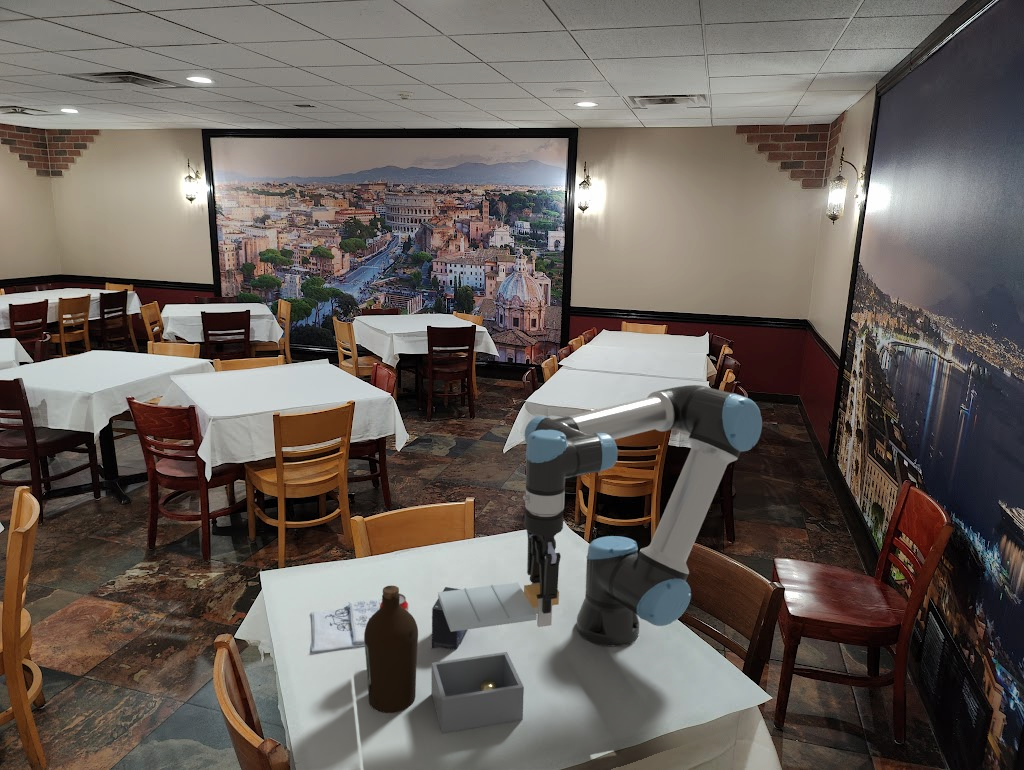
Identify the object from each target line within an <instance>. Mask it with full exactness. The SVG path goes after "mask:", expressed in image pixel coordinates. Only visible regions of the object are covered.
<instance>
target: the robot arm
mask: <svg viewBox="0 0 1024 770" xmlns="http://www.w3.org/2000/svg"><path fill="white" fill-rule="evenodd" d="M762 418H763V417H762V416H761V410H760V408H759V406H758V405H757V404H756V402H755V401H753V400H752V399H751V398H748V397H745V396H743V395H740V394H737V393H733V392H729V391H724V390H720V389H717V388H711V387H708V386H705V385H701V384H699V385H697V384H693V385H691V384H690V385H682V386H681V385H680V386H676V387H670V388H665V389H661V390H657V391H653V392H651V393H649V394H648V395H647V397H645V398H641V399H636V400H632V401H629V402H623V403H619V404H615V405H611V406H607V407H602V408H598V409H593V410H589V411H586V412H581V413H578V414H573V415H568V416H563V417H559V418H554V419H552V418H550V417H547V416H543V415H542V416H535V417H533V418H532V419H531V420H530V421H528V423H527V424H526V426H525V429H524V440H525V443H526V450H525V451H526V452H525V494H524V495H523V496H522V499H523V500H524V501H525V506H524V507H525V511H524V524H523V525H524V528H525V530H526V534H527V565H526V566H527V567H526V569H527V570H526V571H527V572H526V573H527V575H528V576H529V581H530V585H532V584H540V594H538V595H537V599H538V607H536V608H533V609H534V610H535V612H536V614H537V620H536V623H537V624H536V626H537V627H538V628H541V627H547V626H548V627H550V626H552V618H553V617H552V616H553V615H552V614H553V605H552V599H555V598H557V591H559V587H558V586H559V572H560V571H559V570H560V569H559V568H560V561H561V553H560V552H556V548H557V544H556V543H557V542H556V539H555V536H557V534H559V533H561V532H562V531H563V528H564V509H565V491H566V490H565V487H566V485H565V484H566V479H569V478H574V477H577V476H583V475H588V474H594V473H595V474H596V473H601V472H602V471H606V470H609V469H611V468H614V466H615V464H616V463H617V461H618V451H619V450H618V447H617V443H616V441H615V440H619V439H622V438H626V437H630V436H634V435H636V434H641V433H646V432H648V431H649V432H650V431H653V430H655V431H658V432H666V431H667V432H668V431H672V430H673V431H681V432H684V433H688V434H689V435H688V438H687V440H688V444H689V445H690V451H689V453H688V455H687V457H686V460H685V462H684V464H683V466H682V469H681V471H680V475H679V476H678V479H677V481H676V483H675V486H674V488H673V491H672V492H671V495H670V498H669V499H668V502H667V504H666V507H665V509H664V512H663V514H662V516H661V518H660V521H659V523H658V526H657V527H656V530H655V533H654V535H653V537H652V539H651V541H650V544H649V545H648V546H645V547H642V548H640V550H639V547H638V543H637V541H636V540H634V539H632V538H629V537H625V536H618V535H617V536H616V535H615V536H614V535H610V536H609V535H607V536H601V537H598V538H596V539H595V538H594V539H593V540H592V541H591V542H589V545H588V548H587V555H586V568H585V569H586V571H585V572H586V573H585V574H586V575H585V597H584V599H583V602H582V604H581V607H580V608H579V612H578V614H577V615H576V616H577V617H576V629H577V632H578V634H580V635H581V637H583V638H584V639H585V640H587V641H589V642H591V643H594V644H596V645H601V646H606V647H620V646H621V647H622V646H625V645H627V644H631V643H632V642H634V641H635V640H636V639H637V638H638V636H639V635H638V634H640V620H639V618H640V619H641V620H644V621H646V622H647V623H650V624H651V625H653V626H657V627H664V626H668V625H670V624H672V623H673V622H676V621H677V620H678V619H679V618H680V617H682V615H683V614H684V613H685V612H686V610H687V608H688V606H689V604H690V601H691V599H692V593H691V592H692V591H691V590H692V589H691V587H690V585H689V584H688V582H687V578H688V576H689V574H690V571H689V568H688V565H687V561H688V558H689V556H690V553H691V551H692V549H693V546H694V544H695V542H696V539H697V537H698V535H699V532H700V530H701V528H702V526H703V523H704V521H705V519H706V516H707V513H708V511H709V510H710V507H711V504H712V502H713V499H714V497H715V495H716V492H717V490H718V488H719V485H720V483H721V481H722V479H723V476H724V474H725V471H726V469H727V466H728V465H729V464H731V463H732V462H735V461H737V460H738V459H739V457H740V454H741V452H748V451H749V450H750V451H751V449H752V448H754V447H755V446H756V444H758V441H759V440H760V437H761V434H762V429H763V428H762V427H763V419H762ZM638 550H639V551H638Z"/></svg>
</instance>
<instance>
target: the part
mask: <svg viewBox="0 0 1024 770" xmlns="http://www.w3.org/2000/svg"><path fill="white" fill-rule="evenodd" d="M491 689H496V684H495V682H493V681H490V680H486V681H483V682H482V683H481V691H485V690H491Z"/></svg>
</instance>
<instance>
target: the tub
mask: <svg viewBox="0 0 1024 770" xmlns="http://www.w3.org/2000/svg"><path fill="white" fill-rule="evenodd" d="M486 680H490V681H493V682H495V684H496V689H491V690H485V691H481V683H482V682H483V681H486ZM524 691H525V689H524V684H523V683H522V680H521V678H520V676H519V674H518V672H517V670H516V668H515V666H514V663H513V661H512V659H511V657H510V654H509V653H508V651H504V652H496V653H491V654H483V655H477V656H476V655H475V656H471V657H469V656H468V657H464V658H463V657H462V658H454V659H449V660H441V661H436V662H431V698H432V701H433V704H434V705H433V706H434V709H435V712H436V715H437V719H438V723H439V727H440V731H441V734H449V733H455V732H460V731H467V730H471V729H477V728H482V727H488V726H496V725H499V724H506V723H511V722H512V723H513V722H516V721H517V722H518V721H523V718H524V694H525V692H524Z"/></svg>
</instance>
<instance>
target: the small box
mask: <svg viewBox="0 0 1024 770" xmlns="http://www.w3.org/2000/svg"><path fill="white" fill-rule="evenodd" d="M461 589H462V588H461ZM461 589H460V588H454V587H448V586H446V587H444V588H443V590H442V592H444V591H452V590H461ZM468 630H469V629H467V630H460V631H453V632H451V631H450V629H449V626H448V623H447V620H446V617H445V615H444V612H443V609H442V606H441V604H440V601H439V598H438V597H437V599H436V601H435V603H434V605H433V606H432V608H431V646H430V647H431V649H438V648H440V649H447V650H455V651H456V650H457V649H458V648H459V646H460V645H461V643H462V642H463V640H464V638H465V636H466V634H467V632H468Z"/></svg>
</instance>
